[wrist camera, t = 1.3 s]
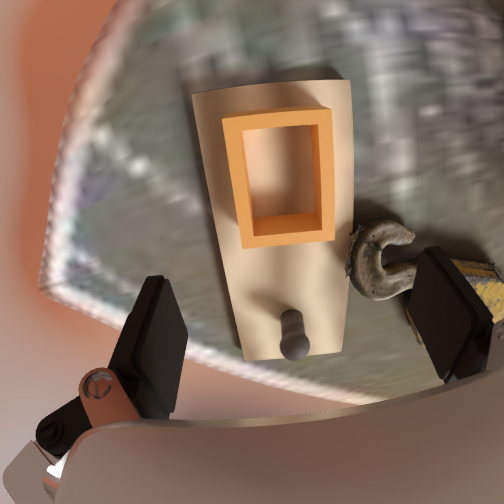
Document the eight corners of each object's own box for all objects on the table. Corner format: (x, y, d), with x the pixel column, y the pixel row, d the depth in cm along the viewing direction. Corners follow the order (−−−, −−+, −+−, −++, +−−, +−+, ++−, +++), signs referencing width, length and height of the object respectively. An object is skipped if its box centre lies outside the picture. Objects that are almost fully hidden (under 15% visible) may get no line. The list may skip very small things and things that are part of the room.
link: (321, 105, 21) (331, 109, 18) (326, 221, 26) (334, 240, 23) (226, 113, 21) (221, 118, 18) (243, 229, 26) (242, 249, 24)
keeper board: (344, 79, 21) (376, 81, 15) (339, 342, 36) (349, 387, 30) (195, 93, 21) (172, 98, 16) (245, 351, 37) (243, 397, 31)
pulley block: (424, 196, 19) (530, 317, 27) (399, 162, 23) (515, 287, 31) (308, 308, 27) (458, 370, 35) (306, 264, 31) (448, 340, 39)
